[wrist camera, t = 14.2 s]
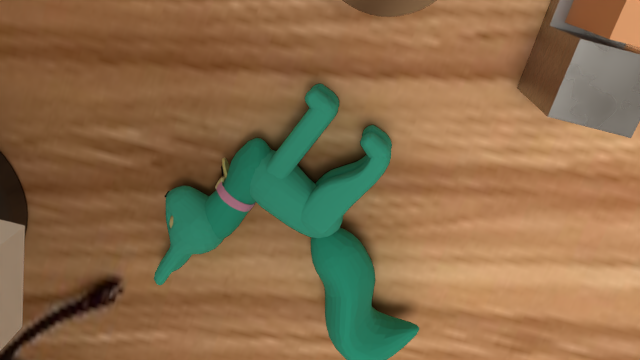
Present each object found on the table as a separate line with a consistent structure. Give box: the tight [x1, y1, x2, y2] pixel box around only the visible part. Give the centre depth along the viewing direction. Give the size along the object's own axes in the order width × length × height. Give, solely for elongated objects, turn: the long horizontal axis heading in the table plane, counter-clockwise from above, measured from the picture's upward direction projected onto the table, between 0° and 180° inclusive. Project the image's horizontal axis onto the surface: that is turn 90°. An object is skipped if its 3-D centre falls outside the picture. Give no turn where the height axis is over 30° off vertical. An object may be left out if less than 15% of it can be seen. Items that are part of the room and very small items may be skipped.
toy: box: [154, 84, 419, 360], centre depth 42 cm, size 7×22×20 cm
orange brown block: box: [565, 0, 640, 47], centre depth 31 cm, size 4×4×7 cm
